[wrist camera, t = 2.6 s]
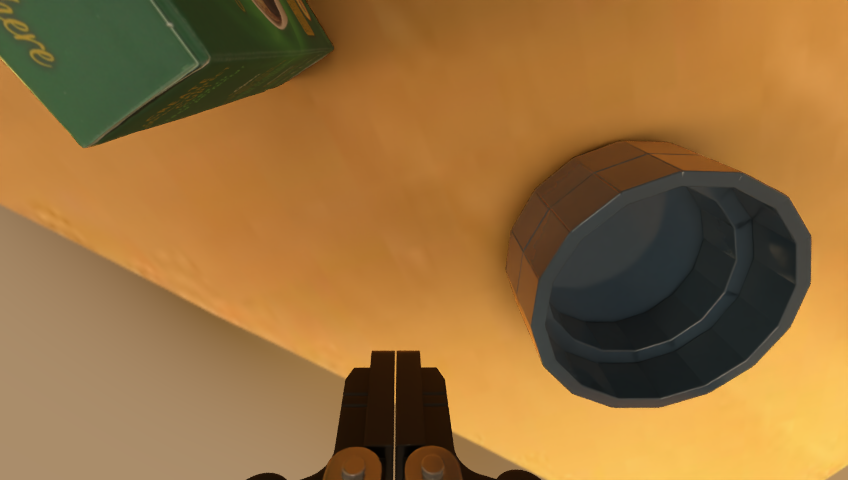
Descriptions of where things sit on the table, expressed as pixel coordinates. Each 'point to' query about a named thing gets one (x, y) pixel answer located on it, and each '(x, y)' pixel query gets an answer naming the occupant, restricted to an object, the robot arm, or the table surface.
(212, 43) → the coffee box
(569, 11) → the table surface
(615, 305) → the bowl
